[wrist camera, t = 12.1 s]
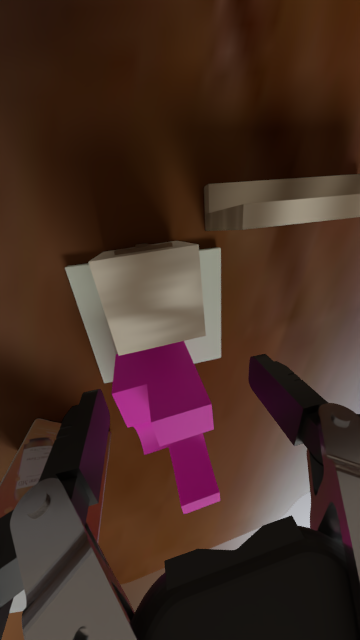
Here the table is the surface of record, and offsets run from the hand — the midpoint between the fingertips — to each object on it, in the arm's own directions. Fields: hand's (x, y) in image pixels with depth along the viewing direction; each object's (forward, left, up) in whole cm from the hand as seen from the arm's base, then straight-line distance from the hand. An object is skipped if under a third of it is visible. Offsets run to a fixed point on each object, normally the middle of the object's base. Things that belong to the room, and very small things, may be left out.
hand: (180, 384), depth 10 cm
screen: (-12, -8, -9) cm, 17 cm away
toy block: (+1, +9, -8) cm, 13 cm away
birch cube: (0, -1, -5) cm, 5 cm away
